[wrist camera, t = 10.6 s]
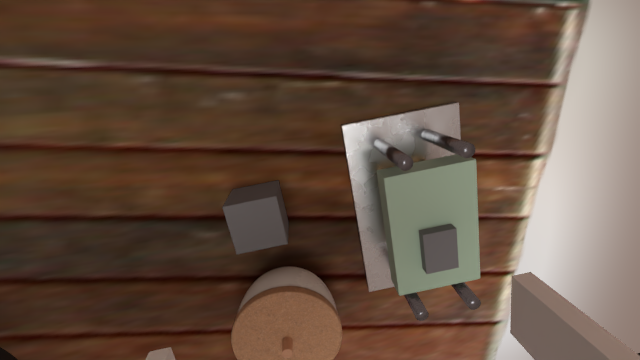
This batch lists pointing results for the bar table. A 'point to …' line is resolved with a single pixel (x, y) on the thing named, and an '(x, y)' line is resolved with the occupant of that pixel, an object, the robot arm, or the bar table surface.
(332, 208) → the bar table surface
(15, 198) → the bar table surface
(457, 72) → the bar table surface
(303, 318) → the lidded jar
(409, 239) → the board
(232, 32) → the bar table surface
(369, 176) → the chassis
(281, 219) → the dark grey cube
